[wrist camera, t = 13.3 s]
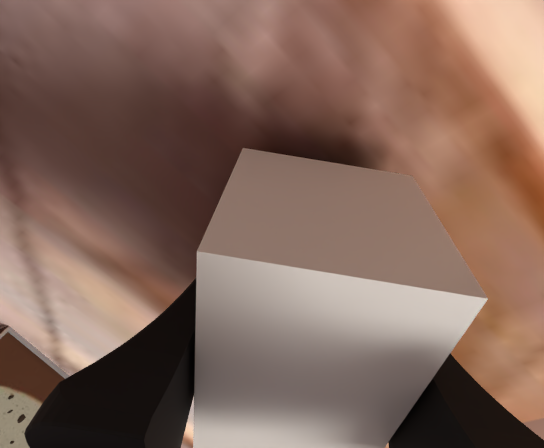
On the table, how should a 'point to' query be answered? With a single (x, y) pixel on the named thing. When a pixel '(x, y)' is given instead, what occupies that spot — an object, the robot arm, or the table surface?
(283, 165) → the white block
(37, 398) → the food container
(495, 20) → the table surface
